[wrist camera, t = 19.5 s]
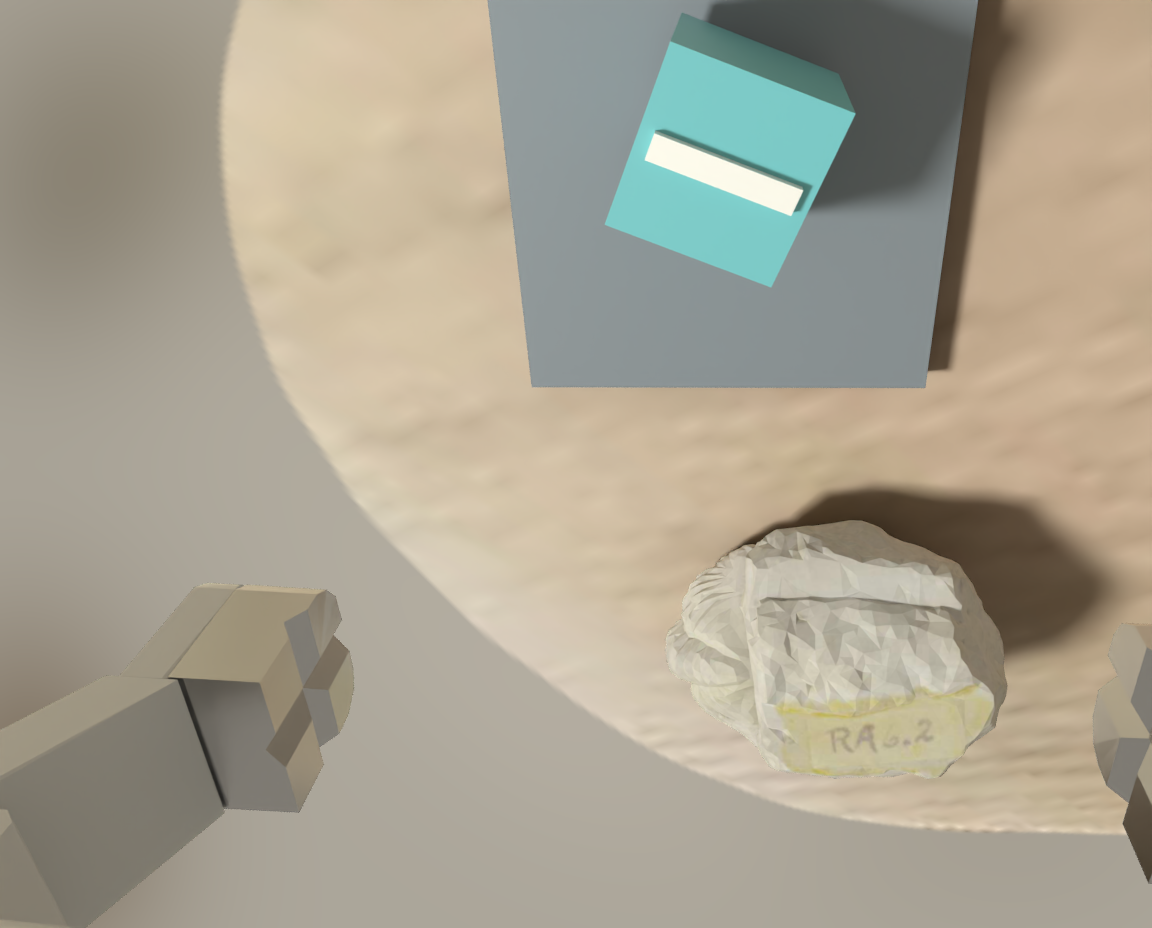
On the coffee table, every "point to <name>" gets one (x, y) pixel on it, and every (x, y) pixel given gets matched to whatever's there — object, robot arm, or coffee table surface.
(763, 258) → the teal slotted cube
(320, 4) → the coffee table surface
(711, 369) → the toggle switch board
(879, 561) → the fossil replica
